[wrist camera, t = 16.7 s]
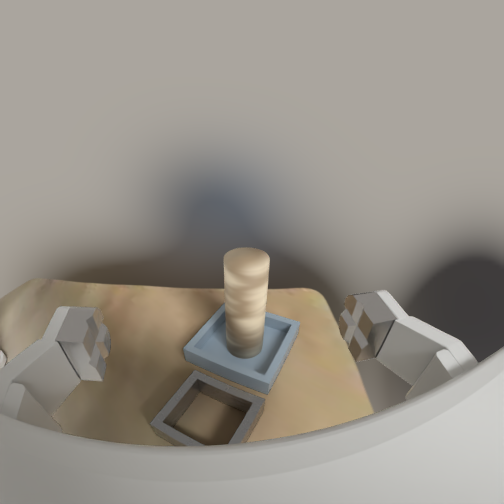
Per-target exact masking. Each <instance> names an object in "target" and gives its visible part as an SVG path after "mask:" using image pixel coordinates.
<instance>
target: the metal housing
mask: <svg viewBox="0 0 504 504" xmlns="http://www.w3.org/2000/svg"><path fill="white" fill-rule="evenodd" d="M200 392H201V393H203V394H205V395H207V396H209V397H211V398H214V399H216V400H218V401H220V402H222V403H225V404H227V405H229V406H232V407H234V408H236V409H239V410H241V411H244V412H246V413H247V414H246V416H245V417H244V419H243V421H242V422H241V424H240V426H239V427H238V429H237V431H236V432H235V434H234V435H233V437H232V439H231V440H230V442H229V443H228V444H238V443H246V442H247V440H248V438H249V436H250V435H251V433H252V431H253V429H254V428H255V426H256V424H257V422H258V420H259V418H260V417H261V415H262V413H263V410H264V404H265V399H263V398H261V397H258V396H255V395H253V394H250V393H247V392H245V391H242V390H240V389H237V388H235V387H233V386H230V385H228V384H225V383H223V382H221V381H218V380H216V379H214V378H212V377H209V376H207V375H205V374H203V373H201V372H199V371H196V370H194V371H193V372H192V374H191V375H190V376H189V377H188V378H187V380H186V381H185V382H184V383H183V384H182V386H181V387H180V388H179V389H178V390H177V392H176V393H175V394H174V395H173V396H172V398H171V399H170V400H169V401H168V402H167V404H166V405H165V406H164V407H163V408H162V410H161V411H160V412H159V413H158V414H157V415H156V417H155V418H154V419H153V420H152V421H151V422H150V425H151V427H152V428H153V430H154V432H155V433H156V435H158V436H160V437H161V438H163V439H164V440H166V441H168V442H169V443H171V444H173V445H175V446H205V445H203V444H201V443H199V442H197V441H196V440H194V439H192V438H190V437H188V436H186V435H184V434H182V433H181V432H179V431H177V430H175V429H174V428H172V427H173V426H174V425H175V424H176V422H177V421H178V420H179V419H180V417H181V416H182V415H183V413H184V412H185V411H186V410H187V408H188V407H189V406H190V404H191V403H192V402H193V401H194V399H195V398H196V397H197V395H198V394H199V393H200Z"/></svg>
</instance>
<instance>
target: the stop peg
mask: <svg viewBox="0 0 504 504" xmlns="http://www.w3.org/2000/svg"><path fill="white" fill-rule="evenodd" d="M269 260H270V259H269V256H268V255H267V254H266V253H265V252H263V251H261V250H258V249H255V248H237V249H234V250H231V251H229V252H227V253H226V254H225V256H224V282H225V283H224V285H225V317H226V342H227V349H228V351H229V353H230V354H232V355H233V356H235V357H237V358H241V359H249V358H253V357H255V356H257V355H258V354H259V353H260V352H261V350H262V347H263V336H264V324H265V312H266V300H267V287H268V274H269Z"/></svg>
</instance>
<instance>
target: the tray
mask: <svg viewBox="0 0 504 504" xmlns="http://www.w3.org/2000/svg"><path fill="white" fill-rule="evenodd" d="M299 326H300V322H298V321H295V320H291V319H288V318H284V317H281V316H278V315H275V314H271V313H268V312H265V324H264V336H263V347H262V350H261V352H260V353H259V354H258V355H257V356H255V357H253V358H249V359H241V358H237V357H235V356H233V355H232V354H230V353H229V351H228V349H227V342H226V317H225V303H224V304H223V305H222V306H221V307H220V308H219V309H218V310H217V311H216V313H215V314H214V315H213V316H212V317H211V318H210V319H209V320H208V321H207V323H206V324H205V325H204V326H203V327H202V328H201V329H200V330H199V331H198V333H197V334H196V335H195V336H194V337H193V338H192V339H191V340H190V341H189V342H188V344H187V345H186V346H185V347H184V348H183V350H184V355H185V360H186V361H188V362H190V363H192V364H195V365H197V366H199V367H201V368H203V369H205V370H208V371H210V372H212V373H214V374H217V375H219V376H221V377H224V378H226V379H228V380H231V381H233V382H236V383H238V384H241V385H243V386H246V387H248V388H251V389H254V390H256V391H259V392H262V393H264V394H267V395H268V393H269V391H270V389H271V387H272V386H273V384H274V382H275V380H276V378H277V376H278V374H279V372H280V370H281V368H282V366H283V364H284V362H285V360H286V358H287V356H288V354H289V352H290V350H291V348H292V346H293V343H294V341H295V339H296V337H297V335H298V331H299Z"/></svg>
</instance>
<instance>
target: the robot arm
mask: <svg viewBox="0 0 504 504" xmlns="http://www.w3.org/2000/svg"><path fill="white" fill-rule="evenodd" d="M344 305H345V307H346V309H345V310H344V311H343V312H342V313H341V316H340V319H339V330H340V334H341V336H342V338H343V339H344V340H345V341H347V342H349V343H350V344H349V348H348V349H349V350H350V352H351V354H352V356H353V358H354V359H355V361H356V362H359V361H363V360H368V359H372V358H376V359H377V360H378V361H379V362H381V363H382V364H383V365H385V366H386V367H387V368H389V369H390V370H392V371H393V372H394V373H396V374H397V375H398V376H400V377H401V378H403V379H404V380H405V381H406V382H408V383H409V384H410V385H412V388H411V389H410V390H409V392H408V393H407V394H406V400H407V401H405V402H402V403H400V404H397V405H395V406H392V407H390V408H387V409H385V410H382V411H379V412H376V413H374V414H371V415H368V416H365V417H362V418H359V419H355V420H352V421H349V422H346V423H342V424H339V425H335V426H331V427H328V428H324V429H320V430H315V431H311V432H307V433H302V434H297V435H292V436H287V437H282V438H276V439H269V440H263V441H255V442H247V443H238V444H226V445H211V446H152V445H137V444H126V443H117V442H109V441H102V440H96V439H90V438H84V437H79V436H74V435H70V434H65V433H62V428H61V426H60V425H59V424H58V423H57V422H56V421H55V420H54V419H53V418H52V415H53V414H54V413H55V412H56V410H57V409H58V408H59V407H60V405H61V404H62V403H63V402H64V401H65V399H66V398H67V397H68V396H69V395H70V393H71V392H72V391H73V390H74V389H75V387H76V386H77V385H78V384H79V383H80V382H81V380H90V381H103V379H104V374H105V370H106V366H107V365H106V363H105V361H104V359H105V358H106V357H107V356H108V355H109V353H110V348H111V339H110V334H109V331H108V328H107V327H106V326H105V325H104V324H103V323H102V321H103V318H104V317H103V315H102V312H101V310H100V309H99V308H91V307H68V306H60V307H58V308H57V309H56V311H55V313H54V315H53V317H52V319H51V321H50V323H49V325H48V327H47V329H46V331H45V333H44V335H43V337H42V340H39V339H38V340H37V341H35V342H34V343H33V344H31V345H30V346H29V347H27V348H26V349H25V350H24V351H22V352H21V353H20V354H18V355H17V356H16V357H15V358H13V359H12V360H11V361H10V362H8V363H7V364H6V365H5V363H6V360H7V357H6V356H5V354H4V353H3V352H2V351H1V350H0V504H504V347H503V348H501V349H500V350H498V351H497V352H495V353H494V354H492V355H491V356H489V357H488V358H486V359H485V360H483V361H482V362H480V363H478V362H477V361H476V359H475V358H474V357H473V356H472V354H471V353H470V352H469V350H468V349H467V348H466V347H465V345H464V344H463V343H462V342H461V341H460V340H458V339H456V338H454V337H452V336H450V335H448V334H446V333H444V332H442V331H440V330H438V329H436V328H434V327H432V326H430V325H428V324H426V323H424V322H422V321H420V320H418V319H416V318H414V317H412V316H411V317H409V316H408V315H407V314H406V313H405V311H404V310H403V309H402V308H401V307H400V305H399V304H398V303H397V302H396V301H395V300H394V298H393V297H392V296H391V295H390V294H389V293H388V291H386V290H379V291H373V292H368V293H360V294H352V295H348V296H347V298H346V300H345V303H344ZM4 365H5V366H4Z"/></svg>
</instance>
